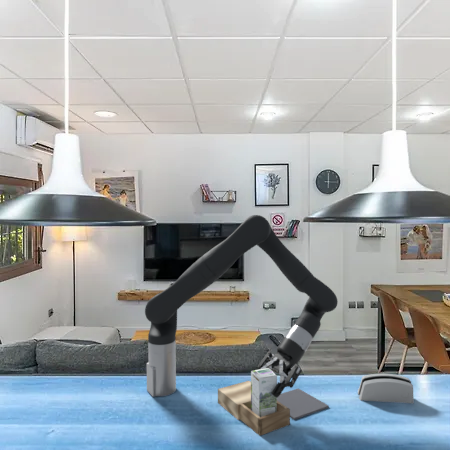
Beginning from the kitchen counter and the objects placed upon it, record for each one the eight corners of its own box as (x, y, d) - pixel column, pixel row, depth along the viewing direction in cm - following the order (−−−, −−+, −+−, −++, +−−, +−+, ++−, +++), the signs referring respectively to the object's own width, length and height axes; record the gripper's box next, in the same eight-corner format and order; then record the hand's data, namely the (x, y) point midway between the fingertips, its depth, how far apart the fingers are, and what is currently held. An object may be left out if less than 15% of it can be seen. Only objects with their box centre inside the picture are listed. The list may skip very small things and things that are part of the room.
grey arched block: (409, 396, 125) (412, 371, 122) (413, 407, 121) (417, 382, 117) (356, 393, 127) (358, 369, 124) (359, 404, 123) (361, 380, 120)
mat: (294, 420, 111) (294, 418, 111) (265, 400, 123) (265, 398, 123) (328, 407, 118) (328, 405, 118) (298, 390, 130) (298, 388, 130)
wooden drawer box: (291, 424, 109) (291, 408, 109) (257, 436, 103) (257, 420, 102) (249, 393, 127) (248, 380, 127) (217, 402, 121) (217, 388, 121)
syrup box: (267, 414, 114) (267, 366, 114) (277, 424, 108) (277, 374, 108) (250, 418, 112) (250, 369, 112) (259, 428, 106) (259, 377, 106)
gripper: (273, 330, 121) (243, 374, 115) (304, 343, 108) (272, 392, 103) (286, 344, 123) (258, 387, 118) (318, 358, 111) (288, 407, 106)
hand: (265, 389), depth 110 cm, fingers open, 8 cm apart
